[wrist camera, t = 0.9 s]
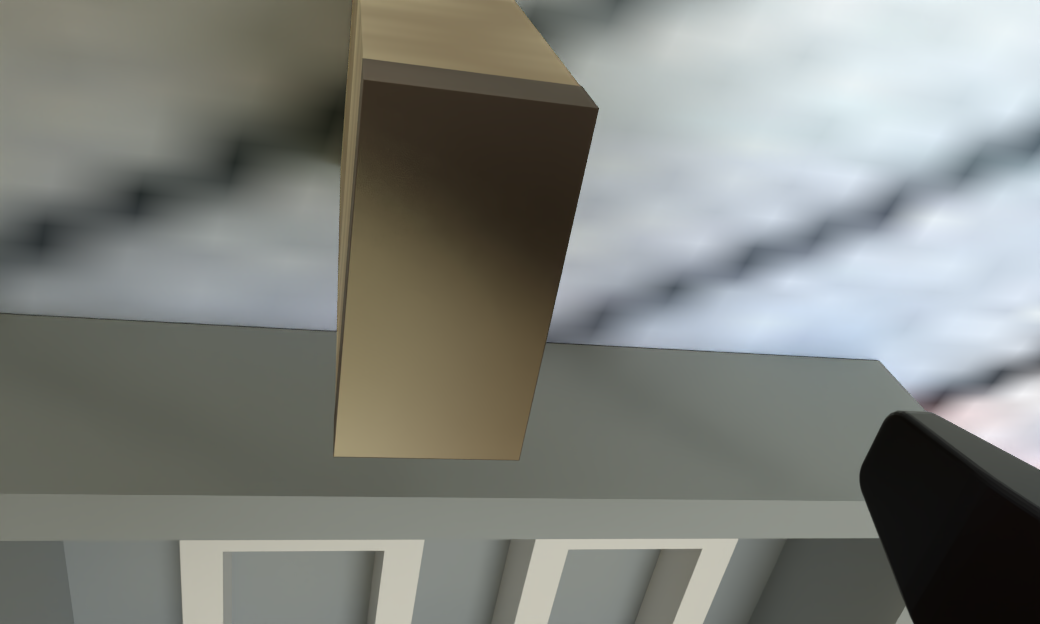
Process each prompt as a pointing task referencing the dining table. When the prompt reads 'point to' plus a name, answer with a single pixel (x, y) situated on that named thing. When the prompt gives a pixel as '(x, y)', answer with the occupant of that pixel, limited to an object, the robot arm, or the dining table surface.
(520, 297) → the tall wooden brick
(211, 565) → the grey storage tray
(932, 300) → the dining table surface
